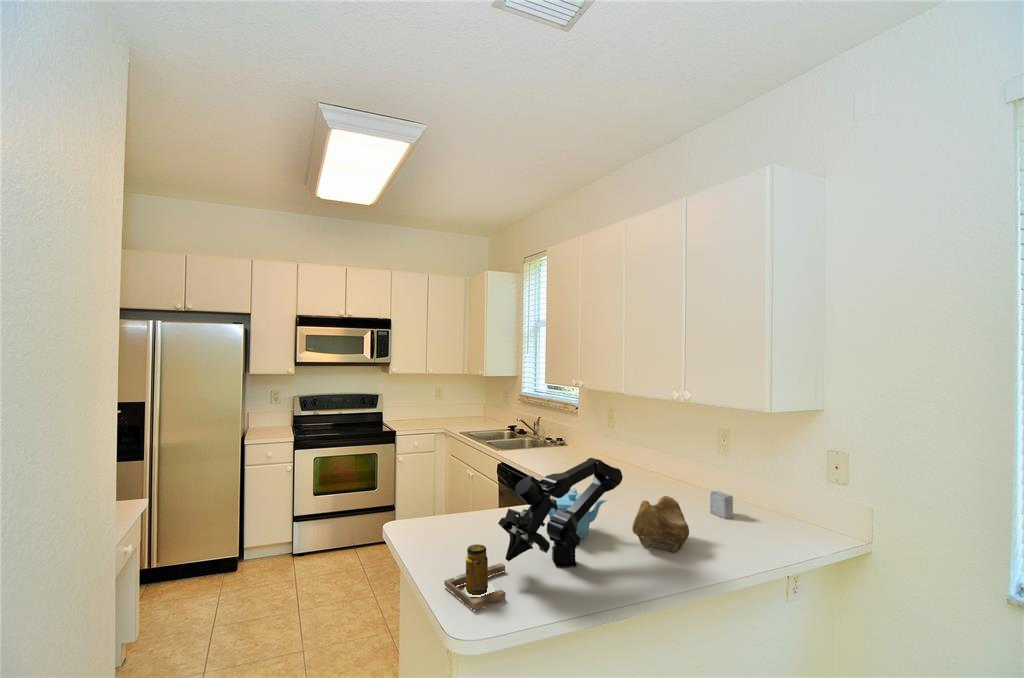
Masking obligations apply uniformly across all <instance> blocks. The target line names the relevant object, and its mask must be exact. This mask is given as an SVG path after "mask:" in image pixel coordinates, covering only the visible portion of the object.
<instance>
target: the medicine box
mask: <svg viewBox="0 0 1024 678" xmlns="http://www.w3.org/2000/svg"><path fill="white" fill-rule="evenodd" d="M709 499H710V501H709V503H710V507H709V508H710V513H711V514H712V515H715V516H718V517H720V518H723V519H725V520H727V519H732V518H733V517H734V498H733V495H731V494H728V493H726V492H722V491H720V490H714V491H710V495H709Z"/></svg>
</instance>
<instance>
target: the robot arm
mask: <svg viewBox="0 0 1024 678" xmlns="http://www.w3.org/2000/svg"><path fill="white" fill-rule="evenodd" d="M622 473H623V472H622V471H621V469H619V468H618V467H613V466H611V465H609V464H607V463H605V462H604V461H603V460H601V459H597V458H594V457H588V458H587V459H586V460H585V461H583V462H581V463H580V464H579V463H578V465H575V466H573V467H572V468H570V469H567V470H565V471H564V472H560V473H559V472H557V473H551V474H548V475H545V476H544V477H543V478H542V479H540V480H536V478H535V477H534V476H533V475H531V474H528V475H526V477H525V478H522V479H521V480H520V481H518V482H517V483H516V485H515V488H514V492H515V493H516V495H518V497H520V498H521V499H522V500H523V502H524V503H526V505H528V506H529V507H528V508H527V509H526V508H524V509H523V510H522V511H517V510H515V509H511V508H507V512H506V514H505V517H501V518H500V520H499V521H498V522H497V524H498V525H499V526H500V527H501V528H502V529H503V530H504V531H505V532H506V533H508V535H509V543H508V547H507V551H506V554H505V560H506V561H507V562H510V561H512V560H513V559H516V558H517V557H518V556H520V555H521V554H523V553H525V552H527V551H529V550H533V549H534V547H533V545H538V547H539V549H538V550H539V551H541V552H542V553H545V554H547V553H548V552H549V550H550V548H551V560H552V562H553V564H554V565H555V567H556V568H564V567H565V568H570V567H577V566H578V564H577V562H576V548H577V547H578V546H580V544H581V543H580V542H581V541H580V539H581V538H580V537H579V536H578V535H577V534H576V531H577V526H578V522H579V521H580V520H581V518H582V517H583V516H584V515H585V514H586V513H587V512H588V511H589V509H590V510H591V508H592V507H593V506H595V504H596V502H597V501H599V499H600V498H601V497H602V496H603V495H604V494H605V493H607V492H609V491H612V490H614V489H616V487H618V486H620V484H622V481H623V478H624V477H623V474H622ZM591 476H593V479H592V483H590V485H588V487H586V489H585V490H584V491H583V492H582V493H580V494H581V496H580V497H579V498H578V499H577V500H576V501H575V502H574V503H573V504H572V505H571V506H570V507H569V509H568V510H567V511H565V512H562V511H560V510H557V509H558V507H557V501H556V500H555V499H556V498H562V497H563V496H564V495H566V494H567V493H570V491H571V488H572V487H573V486H574V485H576V484H579V483H580V482H582V481H584V480H585V479H587V478H589V477H591ZM551 497H552V498H551ZM553 498H555V499H553ZM551 508H552V509H555V510H557V511H556V512H555V514H554V515H553V516H552V517H550V516H549V515H548V513H549V512H550V510H551ZM548 516H549V520H548V521H547V524H546V523H545V522H544V521H545V520H546V518H547V517H548ZM545 526H546V533H547V535H548V537H549V540H550V541H551V542H553V546H551V543H550V542H549V541H548V540H547V538H546V537H544V536H543V535H542V534H541V533H539V532H538V531H539V529H540V527H543V528H544V527H545Z"/></svg>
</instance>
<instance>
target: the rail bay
mask: <svg viewBox="0 0 1024 678" xmlns="http://www.w3.org/2000/svg"><path fill="white" fill-rule="evenodd" d="M502 571H505V572H506V565H505V564H504V563H502V562H500V563H497V564H494V565H490V566H488V576H490V575H493V574H496V573H499V572H502ZM464 583H466V572H465V573H462V574H458V575H455V576H452V577H451V578H448V579H445V580H444V585H445V586H446V587H447V588H448V589H449V590H450V591H452V592H453V593H454V594H455V595H456V596H457V597H458V598H460V599H461V600H462V601H463V602H464V603H465V604H467V605H468V606H469V607H470V608H472V610H471V611H473V610H476V609H479V610H481V609H480V608H482V609H484V608H483V607H485V608H487V607H489V606H488V605H490V606H492V605H491V604H493V605H495V604H494V603H496V604H498V603H500V601H501V602H503V600H504V601H506V591H504V590H502V589H499V590H496V591H495V592H492V593H489V594H487V595H486V594H485V595H484V596H481V597H477V598H476V597H475V598H470V597H469V596H467V595H466V594H465V592H463V591H462V590H461V589H460V588H459V587H456V586H457V585H461V584H464ZM457 597H456V598H457ZM458 598H457V599H458ZM463 602H462V603H463ZM497 602H498V603H497ZM464 603H463V604H464ZM465 604H464V605H465ZM468 606H467V607H468ZM486 606H487V607H486ZM469 607H468V608H469ZM470 608H469V609H470ZM476 611H477V610H476Z"/></svg>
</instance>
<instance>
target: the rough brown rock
mask: <svg viewBox="0 0 1024 678" xmlns="http://www.w3.org/2000/svg"><path fill="white" fill-rule="evenodd" d="M631 529H632V533H633V534H635V535H636V536H637V537H638V539H639V542H640V544H641V546H642V547H643V548H650V547H653V548H656V549H657V548H658V549H665V550H666V551H668V552H671V553H674V554H675V553H677V552H678V551H679V552H680V550H681V549H682V547H683V546H684V544H686V543H685V542H686V541H688V538H689V536H690V529H689V525H688V523H687V522H686V519H685V516H684V514H683V511H682V509H681V506H680V504H679V502H678V501H677V500H676V499H674V498H673V497H671V496H668V495H664V496H662V497H661V498H660V499H659V500H658V501H657V503H655V504H651V503H650V502H649V501H648V500H642V501H641V503H640V506H639V508H638V511H637V513H636V516H635V518H634V520H633V523H632V528H631Z"/></svg>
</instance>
